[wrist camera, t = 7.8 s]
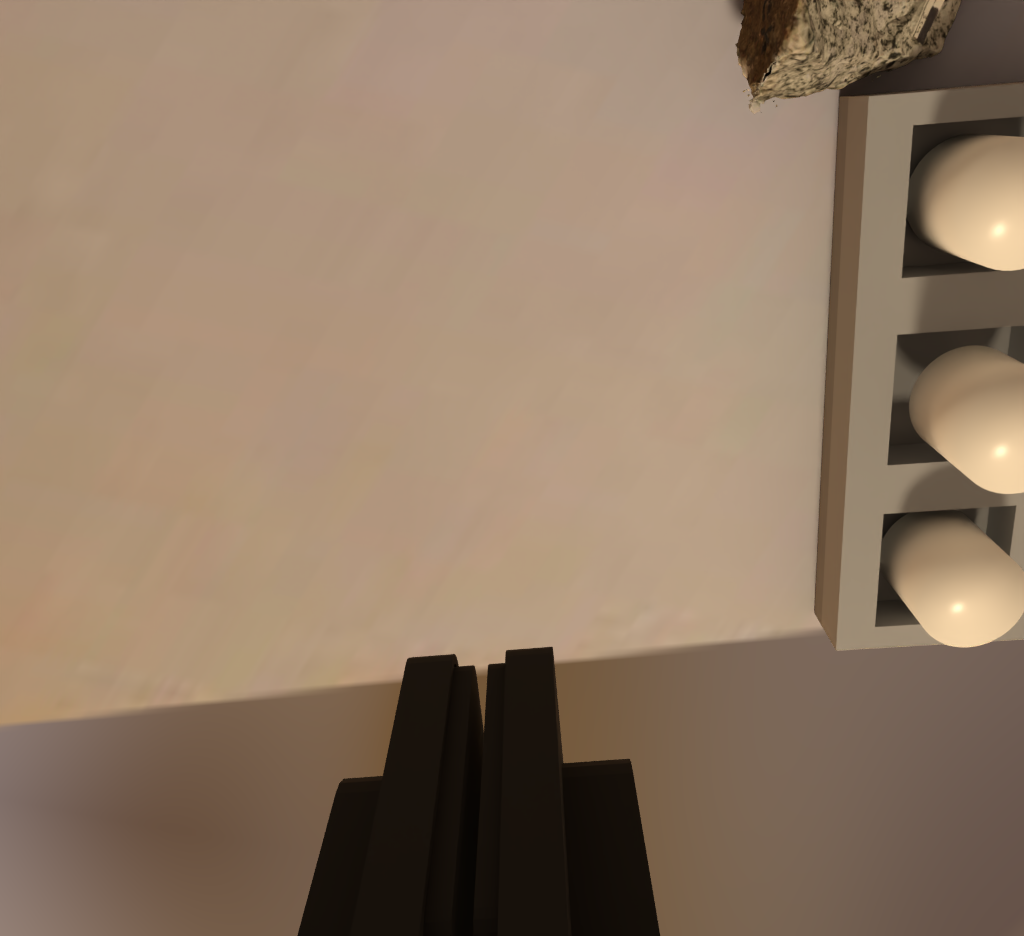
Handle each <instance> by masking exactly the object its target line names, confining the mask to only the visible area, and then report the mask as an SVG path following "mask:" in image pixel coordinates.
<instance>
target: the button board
mask: <svg viewBox="0 0 1024 936" xmlns="http://www.w3.org/2000/svg"><path fill="white" fill-rule="evenodd" d="M964 134H987V135H1001V136H1015V137H1024V82H1014V83H1002V84H989V85H977V86H965V87H953V88H940V89H928V90H916V91H904V92H891V93H879V94H867V95H855V96H842V97H839V117H838V137H837V158H836V179H835V199H834V220H833V241H832V261H831V282H830V303H829V323H828V344H827V365H826V385H825V406H824V427H823V447H822V468H821V489H820V509H819V530H818V550H817V571H816V592H815V612H814V613H815V615H816V616H817V618H818V620H819V622H820V623H821V625H822V627H823V629H824V630H825V632H826V634H827V636H828V637H829V639H830V641H831V643H832V644H833V646H834V648H835V650H836V651H837V650H855V649H872V648H888V647H905V646H922V645H939V644H943V643H941V642H939V641H937V640H935V639H934V638H933V637H931V636H930V635H929V634H928V633H927V632H926V631H925V629H924V628H923V627H922V625H921V624H920V623H919V622H918V620H917V619H916V618H915V616H914V615H913V614H912V612H911V611H910V610H909V608H908V607H907V606H906V604H905V603H904V602H903V601H902V599H901V598H900V597H899V595H898V594H897V593H896V591H895V590H894V589H893V587H892V586H891V585H890V583H889V582H888V581H887V579H886V578H885V577H884V575H883V573H882V571H881V568H880V554H881V543H882V540H883V538H884V536H885V535H886V533H887V531H888V530H889V529H890V528H891V526H892V525H893V524H894V523H895V522H896V521H898V520H899V519H900V518H901V517H903V516H905V515H906V514H908V513H910V512H923V511H938V510H953V509H955V510H957V511H959V512H961V513H963V514H964V515H965V516H967V517H968V518H969V519H970V520H971V521H972V522H973V523H974V524H975V525H976V526H977V527H979V528H980V529H981V530H982V531H983V532H984V533H985V534H986V535H987V536H988V537H989V538H990V539H991V540H992V541H994V542H995V543H996V544H997V545H998V546H999V547H1000V548H1001V549H1002V550H1003V551H1004V552H1005V553H1006V554H1007V555H1009V556H1010V557H1011V558H1012V559H1013V560H1014V561H1015V562H1016V563H1017V564H1018V565H1019V566H1020V567H1021V568H1022V570H1023V571H1024V492H1023V493H1016V494H1001V493H995V492H991V491H988V490H986V489H983V488H981V487H980V486H978V485H976V484H975V483H974V482H973V481H971V480H970V479H969V478H968V477H967V476H966V475H964V474H963V473H962V472H961V471H960V470H958V469H957V468H956V467H955V466H954V465H953V464H951V463H950V462H949V461H948V460H947V459H945V458H944V457H943V456H942V455H941V454H939V453H938V452H937V451H936V450H935V449H934V448H932V447H931V446H930V445H929V444H928V443H926V442H925V441H924V440H923V439H922V438H921V437H920V436H919V435H918V434H917V432H916V431H915V429H914V427H913V425H912V422H911V419H910V413H909V401H910V396H911V392H912V389H913V387H914V384H915V382H916V380H917V379H918V377H919V376H920V374H921V373H922V372H923V370H924V369H925V368H926V367H927V366H928V365H929V364H930V363H931V362H932V361H934V360H935V359H936V358H938V357H939V356H941V355H942V354H944V353H946V352H948V351H950V350H953V349H956V348H959V347H963V346H970V345H980V346H987V347H990V348H994V349H996V350H998V351H1000V352H1002V353H1004V354H1006V355H1008V356H1010V357H1012V358H1014V359H1016V360H1018V361H1019V362H1021V363H1023V364H1024V269H1020V270H1013V271H1002V270H995V269H991V268H988V267H985V266H982V265H979V264H976V263H974V262H971V261H968V260H965V259H962V258H960V257H957V256H954V255H951V254H948V253H946V252H943V251H940V250H937V249H935V248H933V247H930V246H929V245H927V244H925V243H924V242H923V241H922V240H920V239H919V238H918V237H917V235H916V234H915V233H914V231H913V230H912V228H911V226H910V224H909V222H908V219H907V215H906V213H907V200H908V187H909V181H910V178H911V175H912V174H913V172H914V170H915V168H916V167H917V165H918V164H919V162H920V161H921V160H922V159H923V158H924V156H925V155H926V154H927V153H928V152H930V151H931V150H932V149H933V148H934V147H936V146H937V145H938V144H940V143H942V142H944V141H945V140H948V139H950V138H953V137H956V136H959V135H964ZM1023 639H1024V612H1023V614H1022V616H1021V617H1020V619H1019V620H1018V622H1017V623H1016V624H1015V625H1014V626H1013V627H1012V628H1011V629H1010V630H1009V631H1008V632H1006V633H1005V634H1004V635H1002V636H1001V637H999V638H997V639H995V640H993V641H1006V640H1023Z"/></svg>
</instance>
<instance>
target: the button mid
mask: <svg viewBox="0 0 1024 936" xmlns="http://www.w3.org/2000/svg"><path fill="white" fill-rule="evenodd" d="M909 413H910V419H911V422H912V425H913V427H914V429H915V431H916V432H917V434H918V435H919V436H920V437H921V438H922V439H923V440H924V441H925V442H926V443H928V444H929V445H930V446H931V447H932V448H934V449H935V450H936V451H937V452H938V453H939V454H941V455H942V456H943V457H944V458H945V459H947V460H948V461H949V462H950V463H951V464H953V465H954V466H955V467H956V468H957V469H958V470H960V471H961V472H962V473H963V474H964V475H966V476H967V477H968V478H969V479H970V480H971V481H973V482H974V483H975V484H976V485H978V486H980V487H981V488H983V489H986V490H988V491H991V492H995V493H1001V494H1016V493H1023V492H1024V364H1023V363H1021V362H1019V361H1018V360H1016V359H1014V358H1012V357H1010V356H1008V355H1006V354H1004V353H1002V352H1000V351H998V350H996V349H994V348H990V347H987V346H980V345H970V346H963V347H959V348H956V349H953V350H950V351H948V352H946V353H944V354H942V355H941V356H939V357H938V358H936V359H935V360H934V361H932V362H931V363H930V364H929V365H928V366H927V367H926V368H925V369H924V370H923V372H922V373H921V374H920V376H919V377H918V379H917V380H916V382H915V384H914V387H913V389H912V392H911V396H910V401H909Z"/></svg>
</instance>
